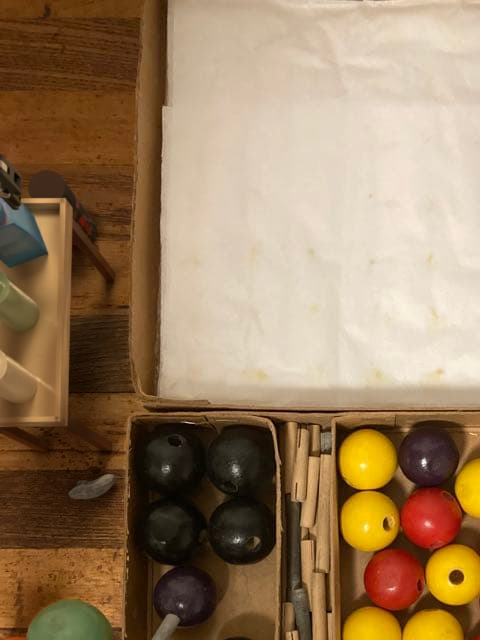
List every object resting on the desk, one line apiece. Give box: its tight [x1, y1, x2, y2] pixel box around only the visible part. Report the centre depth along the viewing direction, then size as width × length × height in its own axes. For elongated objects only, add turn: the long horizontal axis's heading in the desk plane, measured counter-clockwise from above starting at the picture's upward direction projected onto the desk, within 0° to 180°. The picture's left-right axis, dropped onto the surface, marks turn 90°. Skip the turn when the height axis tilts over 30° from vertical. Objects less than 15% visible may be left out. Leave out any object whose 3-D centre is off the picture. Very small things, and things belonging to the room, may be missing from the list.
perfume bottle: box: [0, 197, 48, 268], centre depth 121 cm, size 6×6×12 cm
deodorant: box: [27, 169, 98, 247], centre depth 143 cm, size 6×6×15 cm
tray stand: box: [0, 197, 116, 453], centre depth 136 cm, size 14×34×25 cm, turn 1°
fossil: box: [68, 473, 117, 500], centre depth 144 cm, size 8×4×5 cm, turn 112°
